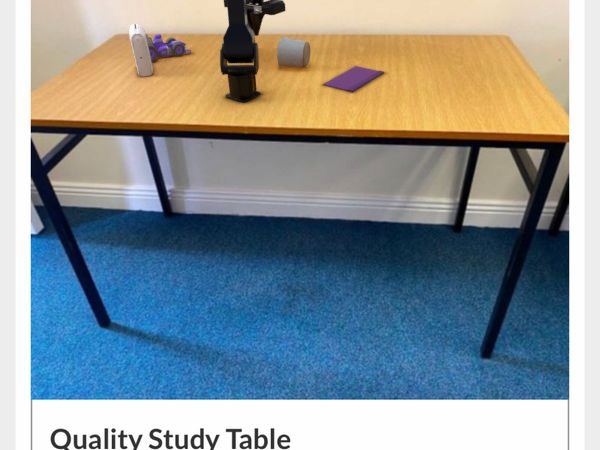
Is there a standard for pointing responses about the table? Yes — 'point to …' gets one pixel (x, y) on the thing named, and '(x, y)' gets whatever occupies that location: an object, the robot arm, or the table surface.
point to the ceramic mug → (293, 53)
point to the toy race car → (165, 47)
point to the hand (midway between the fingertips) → (256, 35)
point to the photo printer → (140, 50)
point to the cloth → (353, 79)
